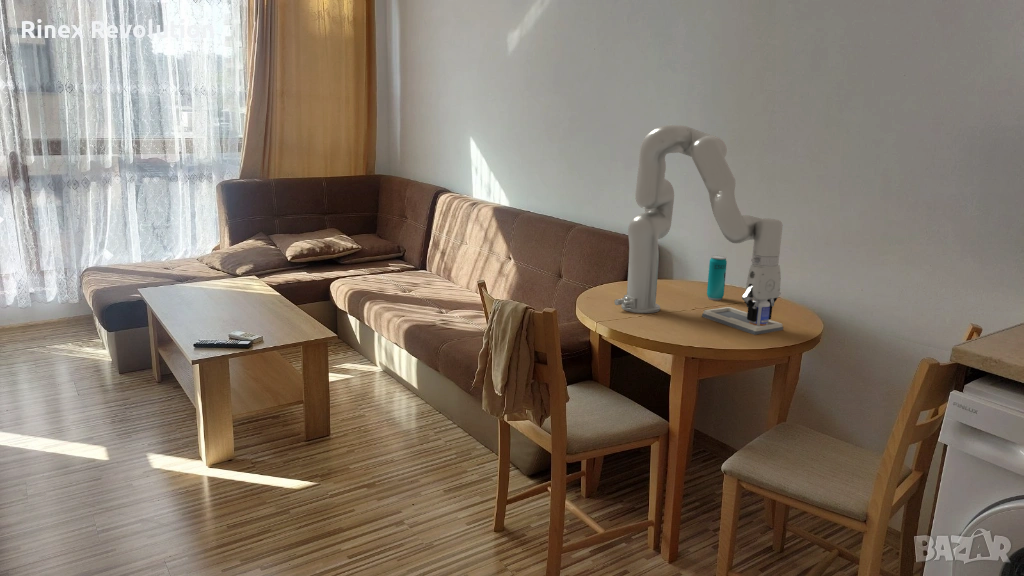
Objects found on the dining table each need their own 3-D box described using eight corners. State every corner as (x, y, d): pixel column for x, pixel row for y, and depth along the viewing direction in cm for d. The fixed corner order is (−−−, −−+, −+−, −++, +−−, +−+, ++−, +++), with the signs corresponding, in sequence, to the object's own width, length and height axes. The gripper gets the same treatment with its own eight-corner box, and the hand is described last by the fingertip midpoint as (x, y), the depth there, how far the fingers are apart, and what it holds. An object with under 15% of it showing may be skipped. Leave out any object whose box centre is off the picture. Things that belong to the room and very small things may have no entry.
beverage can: (725, 301, 259) (729, 258, 256) (708, 300, 259) (712, 258, 256) (721, 297, 265) (724, 255, 261) (704, 296, 265) (708, 255, 261)
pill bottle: (767, 324, 227) (771, 293, 225) (767, 328, 222) (771, 297, 220) (749, 322, 229) (752, 291, 227) (748, 326, 224) (752, 295, 222)
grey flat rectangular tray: (754, 334, 220) (755, 328, 219) (702, 316, 238) (702, 310, 238) (783, 329, 225) (783, 323, 225) (729, 312, 244) (730, 306, 244)
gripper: (754, 265, 214) (747, 326, 218) (795, 260, 222) (788, 319, 226) (734, 260, 220) (729, 319, 224) (775, 256, 228) (769, 313, 233)
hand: (759, 318), depth 225 cm, fingers closed on pill bottle, 5 cm apart
